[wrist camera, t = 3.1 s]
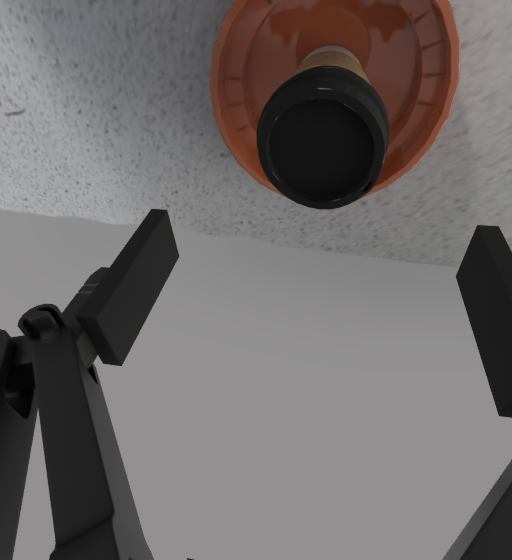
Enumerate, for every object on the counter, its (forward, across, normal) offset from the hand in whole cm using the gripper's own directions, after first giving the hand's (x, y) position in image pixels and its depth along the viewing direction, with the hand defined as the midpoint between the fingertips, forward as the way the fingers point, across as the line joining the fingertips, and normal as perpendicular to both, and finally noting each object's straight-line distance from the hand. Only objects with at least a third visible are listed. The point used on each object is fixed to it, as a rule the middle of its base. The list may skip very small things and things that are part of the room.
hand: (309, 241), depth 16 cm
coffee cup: (+23, 0, 0) cm, 23 cm away
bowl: (+24, 0, 0) cm, 24 cm away
